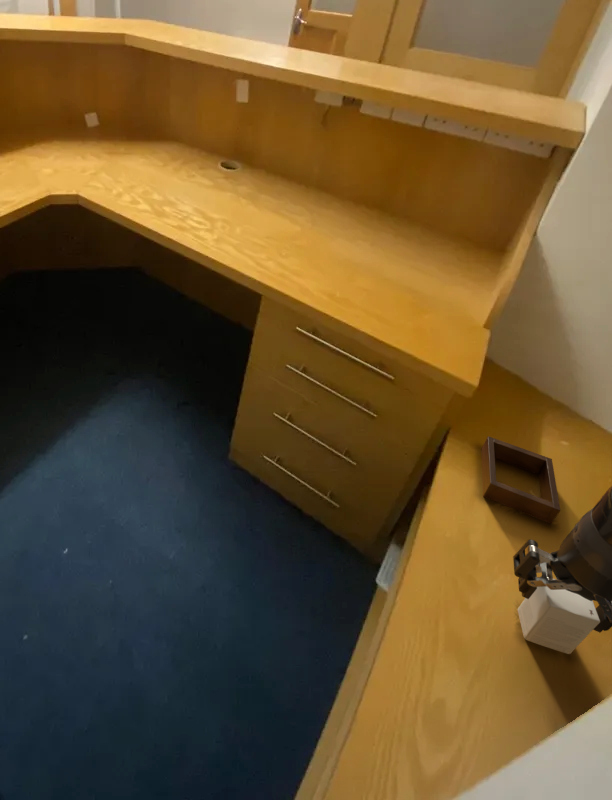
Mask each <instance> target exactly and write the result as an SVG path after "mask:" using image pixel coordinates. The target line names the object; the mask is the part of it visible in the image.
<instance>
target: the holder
mask: <svg viewBox="0 0 612 800" xmlns="http://www.w3.org/2000/svg"><path fill="white" fill-rule="evenodd" d="M480 450H481V451H480V453H481V454H480V457H481V481H482V483H481V484H482V497H483V498H486V499H488V500H491V501H493V502H495V503H498V504H500V505H503V506H506V507H508V508H510V509H513V510H516V511H518V512H520V513H523V514H525V515H528V516H530V517H533V518H535V519H538V520H540V521H543V522H545V523H548V524H552V523H553V522H554V520H555V519H556V518H557V516H558V515H559V513H560V512H561V506H560V500H559V494H558V488H557V482H556V475H555V468H554V464H553V459H552V458H550V457H548V456H546V455H543V454H540V453H536V452H533V451H531V450H528V449H526V448H522V447H519V446H517V445H515V444H511V443H509V442H506V441H503V440H500V439H498V438H495V437H492V436H489V435H488V436H487V437H486V439H485V441H484V443H483V445H482V447H481V449H480ZM496 460H498V461H500V462H503V463H506V464H509V465H512V466H515V467H518V468H519V469H523V470H525V471H527V472H531V473H534V474H536V475H537V476H538V484H539V490H540V492H539V493H540V497H539V496H536V495H534V494H532V493H528V492H526V491H523V490H521V489H519V488H515V487H513V486H510V485H507V484H505V483H502V482H499V481H497V471H496V470H497V469H496Z"/></svg>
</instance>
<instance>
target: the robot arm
mask: <svg viewBox="0 0 612 800" xmlns="http://www.w3.org/2000/svg"><path fill="white" fill-rule="evenodd" d="M512 561H513V572H514V576H515V577H517V579H518V581H517V584H518V591H519V592H520V593H521V596H522V597H523V598H524V599H525V598H527V599H529V598H530V597H531V595H532V594H533V593H534V592H535V590H536V589H537V587H545V586H547V587H548V588H549V589H550V590H562V589H565V590H567V591H570V592H572V593H576V594H578V595H580V596H582V597H583V598H585V599H587V600H590V601H592V600H593V602H597V604H598V605H597V606H596V607H595V609H596V611H597V614H598V617H599V619H600V623H599V624H598V625H597V626H596V627H595V628H594V629H593V630H592V631H595V632H597V633H599V634H601V633H602V632H606V631H607V632H608V631H609V630H610V629H612V485H611V486H610V487H608V489H607V490H606V491H605V492H604V494H603V495H602V496H601V497H600V499H599V500H598V501H597V502H596V503H595V505H594V506H593V507H592V508H591V509H590V510H588V511H587V512H586V513H584V515H583V516H582V517H580V519H579V520H578V522H577V523H575V525H574V526H573V528H572V530H571V531H570V532H569V533H568V534H567V536H566V537H565V538H564V539H563V541H562V542H561V544H560V547H559V549H558V550H556V551H552V552H548V551H545V550H543V549H541V548H540V547H539V543H538V542H537V541H536V540H534V539H528V540H526V542H525V543H524V544H523V545H522V546H521V547H520V549H518V550H517V552H516V553H515V554H514V555H513V557H512ZM540 573H541V576H538V575H537V574H540ZM553 574H554V575H553ZM554 577H555V579H556V580H553V579H554Z"/></svg>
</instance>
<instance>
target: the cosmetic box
mask: <svg viewBox="0 0 612 800" xmlns="http://www.w3.org/2000/svg"><path fill="white" fill-rule="evenodd" d="M556 579H557V578H553V580H556ZM517 614H518V619H519V622H520V626H521V631H522V635H523V638H524V640H526V641H528V642H531V643H534V644H536V645H539V646H542V647H545V648H547V649H551V650H554V651H557V652H560V653H563V654H567V655H571V654H572V653H573V652H574V650H576V648H578V647H579V645H580V644H581V643H582V642H583V641H584V640H585V639H586V638H587V637H588V636H589V635H590V634H591V633H592V631H594V630H593V629H594V628H595V627H596V626H597V625H598V624H599V623H600V619H599V617H598V614H597V611H596V606H595V603H594V600H592V601H590V600H587V599H585V598H583V597H582V596H580V595H578V594H576V593H572V592H570V591H567V590H565V589H562V590H550V589H549V588H548V587H547V586H545V587H537V589H536V590H535V592H534V593H533V594H532V595H531V597H530V598H529V599H527V598H525V597H524V599H523V600H522V602H521V603H520V605H519V606H518V608H517Z"/></svg>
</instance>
